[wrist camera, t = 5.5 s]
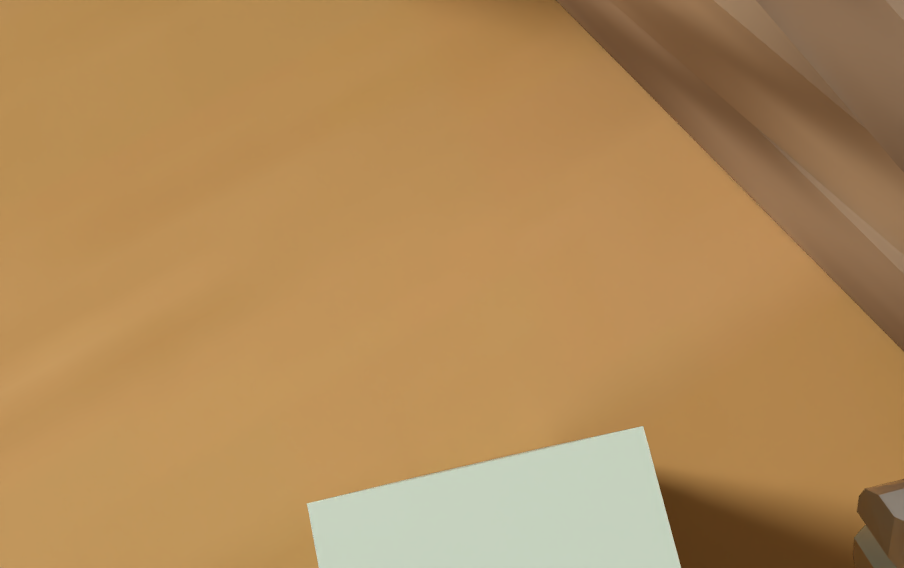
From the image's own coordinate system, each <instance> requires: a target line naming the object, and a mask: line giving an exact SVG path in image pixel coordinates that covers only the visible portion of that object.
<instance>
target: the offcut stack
mask: <svg viewBox="0 0 904 568" xmlns="http://www.w3.org/2000/svg"><path fill="white" fill-rule="evenodd" d="M556 1H557V2H558V3H559V4H560V5H561V6H562V7H563V8H564V9H565V10H566V11H567V12H568V13H569V14H570V15H571V16H572V17H573V18H574V19H575V20H576V21H577V22H578V23H579V24H580V25H581V26H582V27H583V28H584V29H585V30H586V31H587V32H588V33H589V34H590V35H591V36H592V37H593V38H594V39H595V40H596V41H597V42H598V43H599V44H600V45H601V46H602V47H603V48H604V49H605V50H606V51H607V52H608V53H609V54H610V55H611V56H612V57H613V58H614V59H615V60H616V61H617V62H618V63H619V64H620V65H621V66H622V67H623V68H624V69H625V70H626V71H627V72H628V73H629V74H630V75H631V76H632V77H633V78H634V79H635V80H636V81H637V82H638V83H639V84H640V85H641V86H642V87H643V88H644V89H645V90H646V91H647V92H648V93H649V94H650V95H651V96H652V97H653V98H654V99H655V101H656V102H657V103H658V104H659V105H660V106H661V107H662V108H663V109H664V110H665V111H666V112H667V113H668V114H669V115H670V116H671V117H672V118H673V119H674V120H675V121H676V122H677V123H678V124H679V125H680V126H681V127H682V128H683V129H684V130H685V131H686V132H687V133H688V134H689V135H690V136H691V137H692V138H693V139H694V140H695V141H696V142H697V143H698V144H699V145H700V146H701V147H702V148H703V149H704V150H705V151H706V152H707V153H708V154H709V155H710V156H711V157H712V158H713V159H714V160H715V161H716V162H717V163H718V164H719V165H720V166H721V167H722V168H723V169H724V170H725V171H726V172H727V173H728V174H729V175H730V176H731V177H732V178H733V179H734V180H735V181H736V182H737V183H738V184H739V185H740V186H741V187H742V188H743V189H744V190H745V191H746V192H747V193H748V194H749V195H750V196H751V197H752V198H753V199H754V200H755V201H756V202H757V203H758V204H759V206H760V207H761V208H762V209H763V210H764V211H765V212H766V213H767V214H768V215H769V216H770V217H771V218H772V219H773V220H774V221H775V222H776V223H777V224H778V225H779V226H780V227H781V228H782V229H783V230H784V231H785V232H786V233H787V234H788V235H789V236H790V237H791V238H792V239H793V240H794V241H795V242H796V243H797V244H798V245H799V246H800V247H801V248H802V249H803V250H804V251H805V252H806V253H807V254H808V255H809V256H810V257H811V258H812V259H813V260H814V261H815V262H816V263H817V264H818V265H819V266H820V267H821V268H822V269H823V270H824V271H825V272H826V273H827V274H828V275H829V276H830V277H831V278H832V279H833V280H834V281H835V282H836V283H837V284H838V285H839V286H840V287H841V288H842V289H843V290H844V291H845V292H846V293H847V294H848V295H849V296H850V297H851V298H852V299H853V300H854V301H855V302H856V303H857V304H858V305H859V306H860V307H861V308H862V309H863V311H864V312H865V313H866V314H867V315H868V316H869V317H870V318H871V319H872V320H873V321H874V322H875V323H876V324H877V325H878V326H879V327H880V328H881V329H882V330H883V331H884V332H885V333H886V334H887V335H888V336H889V337H890V338H891V339H892V340H893V341H894V342H895V343H896V344H897V345H898V346H899V347H900V348H901V349H902V350H903V351H904V0H556Z"/></svg>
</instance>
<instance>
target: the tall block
mask: <svg viewBox="0 0 904 568" xmlns="http://www.w3.org/2000/svg"><path fill="white" fill-rule="evenodd" d="M307 506H308V511H309V516H310V522H311V527H312V533H313V538H314V543H315V549H316V554H317V560H318V565H319V568H681V565H680V562H679V558H678V554H677V551H676V547H675V543H674V539H673V536H672V532H671V528H670V525H669V521H668V517H667V513H666V510H665V506H664V502H663V498H662V495H661V491H660V487H659V484H658V480H657V476H656V472H655V469H654V465H653V461H652V457H651V454H650V450H649V446H648V443H647V439H646V435H645V431H644V428H643V426H641V427H637V428H632V429H627V430H623V431H618V432H613V433H609V434H604V435H600V436H595V437H590V438H586V439H581V440H577V441H572V442H567V443H563V444H558V445H553V446H549V447H545V448H540V449H536V450H532V451H527V452H523V453H519V454H514V455H510V456H506V457H501V458H497V459H493V460H488V461H484V462H480V463H475V464H471V465H467V466H462V467H458V468H454V469H449V470H445V471H441V472H436V473H432V474H428V475H423V476H419V477H415V478H410V479H406V480H402V481H398V482H394V483H390V484H386V485H382V486H377V487H373V488H369V489H365V490H361V491H357V492H353V493H349V494H345V495H341V496H336V497H332V498H328V499H324V500H320V501H316V502H312V503H308V504H307Z"/></svg>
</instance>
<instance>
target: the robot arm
mask: <svg viewBox="0 0 904 568" xmlns="http://www.w3.org/2000/svg"><path fill="white" fill-rule="evenodd" d="M857 512H858V514H859V515H860V517H861V518H862V520H863V521H864V523H865V524H866V525H865V526H864V527H863V528H862V529H861V531H860V532H859V533H858V534H857V535H856V536H855V537H854V548H853V560H854V564H855V568H904V479H902V480H898V481H894V482H890V483H886V484H882V485H878V486H873V487H869V488H865V489H864V490H863V492H862V493H861V494H860V495H859V499H858V507H857Z"/></svg>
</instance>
